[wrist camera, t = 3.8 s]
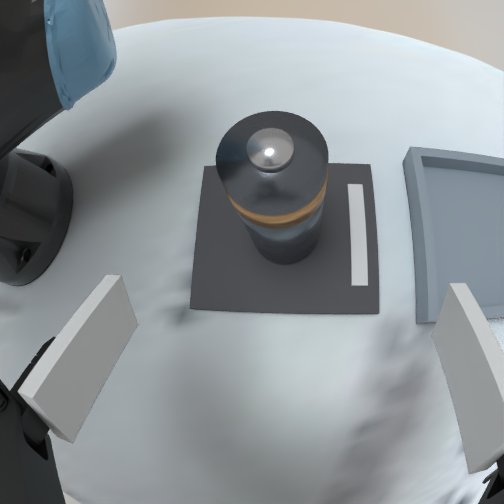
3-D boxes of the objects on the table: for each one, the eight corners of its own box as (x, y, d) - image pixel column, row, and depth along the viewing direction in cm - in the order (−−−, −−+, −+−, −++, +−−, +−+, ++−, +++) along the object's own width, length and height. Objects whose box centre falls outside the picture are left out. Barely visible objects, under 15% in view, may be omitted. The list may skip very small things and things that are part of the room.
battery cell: (250, 264, 24) (205, 201, 13) (253, 201, 25) (217, 105, 14) (319, 265, 23) (333, 200, 12) (318, 201, 24) (326, 101, 13)
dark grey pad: (192, 308, 24) (188, 308, 24) (206, 169, 27) (203, 165, 27) (377, 313, 22) (379, 313, 21) (369, 168, 25) (370, 163, 24)
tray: (416, 323, 21) (428, 321, 19) (402, 161, 25) (410, 146, 22) (539, 313, 19) (555, 310, 17) (517, 175, 23) (529, 163, 20)
